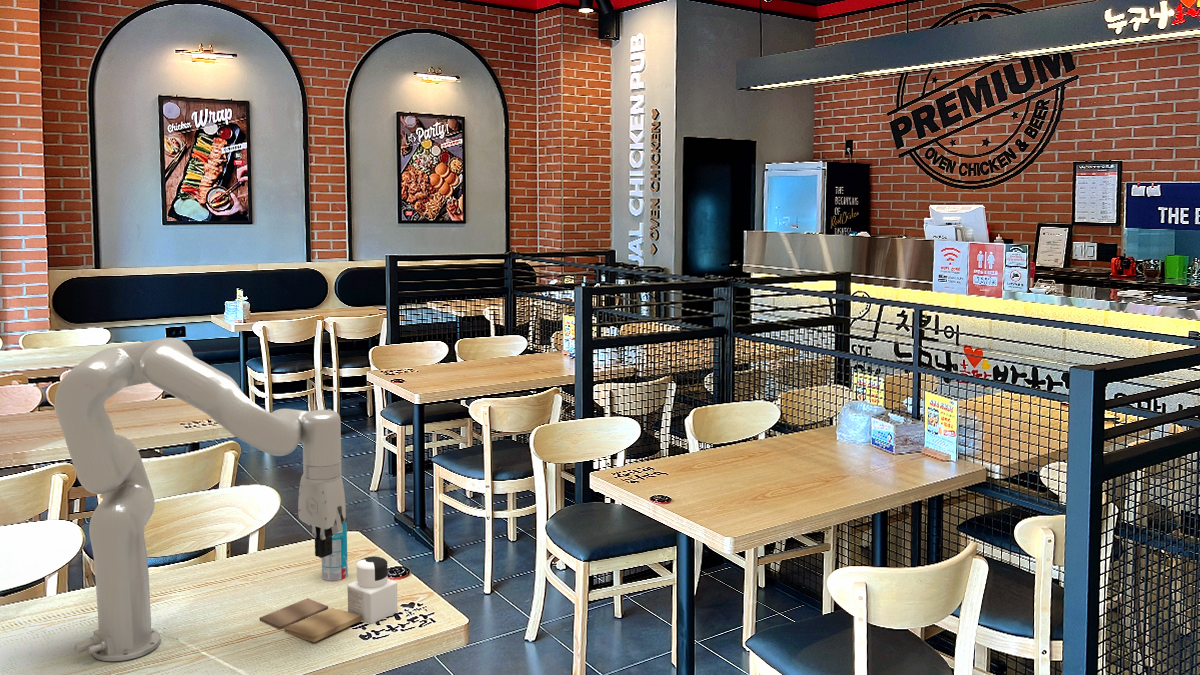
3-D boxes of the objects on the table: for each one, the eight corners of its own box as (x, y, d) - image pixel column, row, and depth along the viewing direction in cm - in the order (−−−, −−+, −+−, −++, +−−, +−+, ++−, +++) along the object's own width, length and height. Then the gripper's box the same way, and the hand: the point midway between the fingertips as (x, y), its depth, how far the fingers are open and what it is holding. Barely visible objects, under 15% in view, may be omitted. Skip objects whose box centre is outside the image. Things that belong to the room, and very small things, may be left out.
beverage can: (352, 579, 231) (351, 519, 229) (331, 586, 226) (330, 525, 224) (338, 572, 235) (337, 513, 232) (317, 579, 230) (315, 519, 228)
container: (374, 605, 217) (373, 550, 215) (398, 615, 212) (397, 558, 210) (347, 617, 211) (346, 561, 209) (371, 627, 206) (370, 569, 204)
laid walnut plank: (315, 648, 196) (315, 642, 196) (259, 623, 207) (259, 617, 206) (364, 626, 207) (363, 620, 206) (308, 603, 217) (307, 597, 217)
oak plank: (314, 642, 196) (313, 637, 196) (284, 633, 202) (284, 628, 202) (362, 620, 207) (361, 615, 206) (332, 612, 212) (332, 607, 212)
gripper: (284, 467, 200) (285, 552, 202) (331, 481, 191) (333, 569, 194) (313, 459, 206) (315, 541, 209) (361, 473, 197) (361, 558, 200)
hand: (323, 555), depth 201 cm, fingers closed
